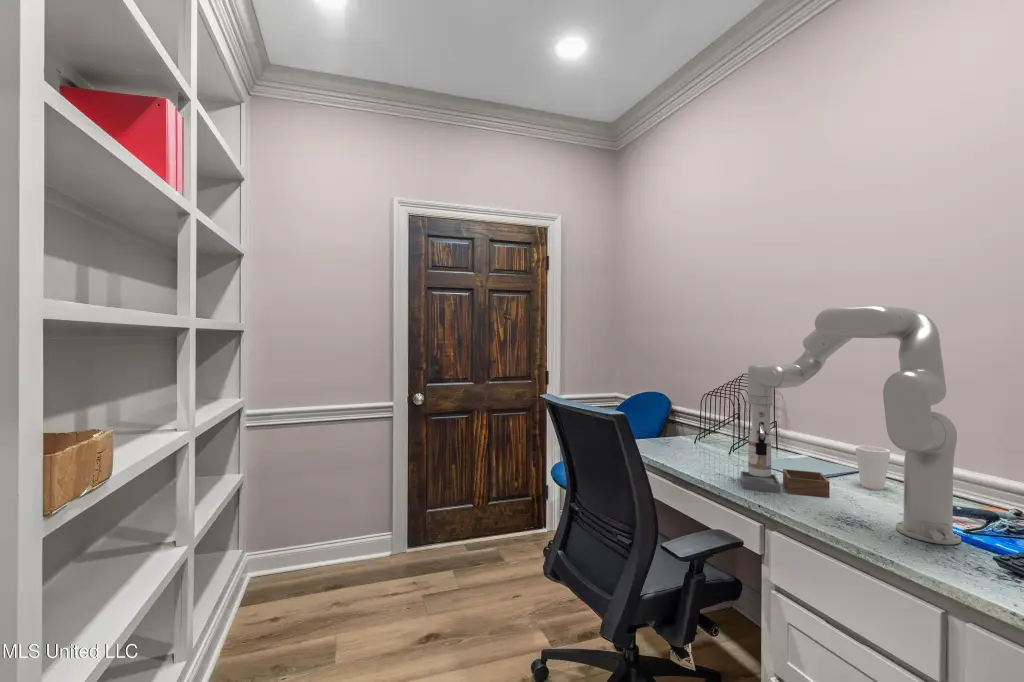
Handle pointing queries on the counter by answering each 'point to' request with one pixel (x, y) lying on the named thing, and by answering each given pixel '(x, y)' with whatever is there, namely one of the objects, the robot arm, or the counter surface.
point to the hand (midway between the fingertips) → (759, 451)
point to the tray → (760, 483)
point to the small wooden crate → (806, 483)
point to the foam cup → (872, 466)
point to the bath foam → (759, 458)
